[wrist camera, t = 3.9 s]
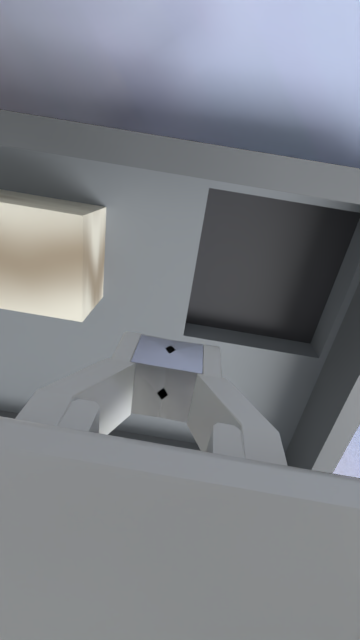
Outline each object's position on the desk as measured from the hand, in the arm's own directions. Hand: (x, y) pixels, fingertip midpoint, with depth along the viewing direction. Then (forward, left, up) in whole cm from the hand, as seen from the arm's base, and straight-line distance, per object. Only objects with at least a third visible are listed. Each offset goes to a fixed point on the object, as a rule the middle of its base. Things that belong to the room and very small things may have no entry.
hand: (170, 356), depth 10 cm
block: (0, +10, -11) cm, 15 cm away
